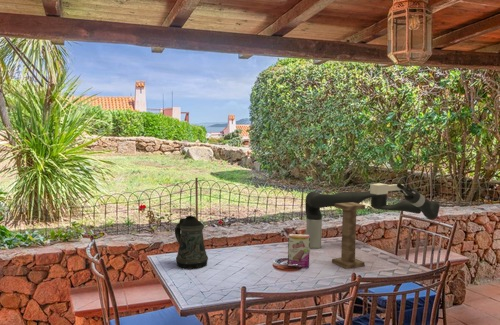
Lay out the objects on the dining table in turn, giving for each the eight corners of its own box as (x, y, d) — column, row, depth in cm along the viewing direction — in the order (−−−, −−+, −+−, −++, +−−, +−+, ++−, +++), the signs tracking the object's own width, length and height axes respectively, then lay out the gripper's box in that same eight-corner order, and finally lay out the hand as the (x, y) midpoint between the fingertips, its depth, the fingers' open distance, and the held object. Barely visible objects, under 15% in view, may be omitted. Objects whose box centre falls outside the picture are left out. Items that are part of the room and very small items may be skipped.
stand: (346, 268, 227) (347, 206, 225) (331, 262, 238) (333, 203, 236) (364, 266, 233) (366, 205, 230) (349, 259, 243) (351, 201, 241)
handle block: (377, 194, 237) (377, 185, 237) (370, 193, 242) (370, 184, 242) (405, 191, 246) (405, 182, 245) (397, 190, 251) (397, 181, 251)
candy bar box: (287, 267, 229) (288, 235, 228) (287, 264, 234) (288, 233, 233) (309, 268, 228) (310, 236, 227) (309, 265, 233) (309, 234, 232)
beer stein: (202, 270, 222) (202, 221, 220) (165, 267, 226) (165, 219, 224) (211, 261, 238) (212, 214, 236) (177, 258, 242) (177, 213, 240)
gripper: (421, 205, 247) (402, 191, 239) (403, 201, 259) (383, 188, 252) (427, 193, 248) (407, 179, 240) (408, 190, 260) (389, 176, 253)
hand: (395, 184), depth 246 cm, fingers closed on handle block, 2 cm apart
